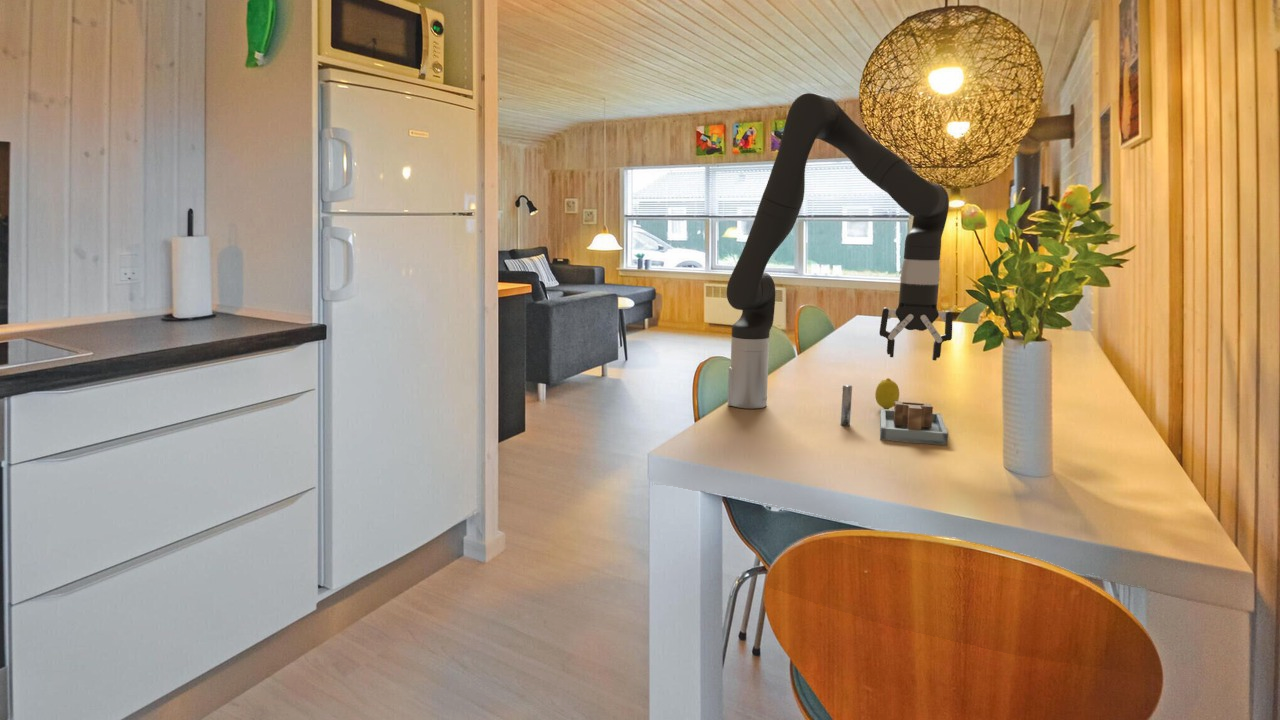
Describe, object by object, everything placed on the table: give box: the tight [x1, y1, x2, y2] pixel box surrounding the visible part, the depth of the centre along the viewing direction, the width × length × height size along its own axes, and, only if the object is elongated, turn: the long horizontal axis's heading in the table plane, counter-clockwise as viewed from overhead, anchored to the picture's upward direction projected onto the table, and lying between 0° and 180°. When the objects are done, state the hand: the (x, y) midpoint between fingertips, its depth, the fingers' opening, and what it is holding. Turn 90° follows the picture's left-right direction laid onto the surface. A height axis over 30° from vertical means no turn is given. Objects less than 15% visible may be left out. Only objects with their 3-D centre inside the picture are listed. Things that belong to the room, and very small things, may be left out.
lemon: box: [875, 377, 900, 410], centre depth 180 cm, size 6×6×8 cm
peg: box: [840, 384, 853, 427], centre depth 166 cm, size 2×2×9 cm
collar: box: [893, 400, 934, 430], centre depth 160 cm, size 8×14×4 cm, turn 163°
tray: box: [879, 408, 949, 446], centre depth 161 cm, size 13×18×2 cm
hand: (912, 358), depth 156 cm, fingers open, 8 cm apart
